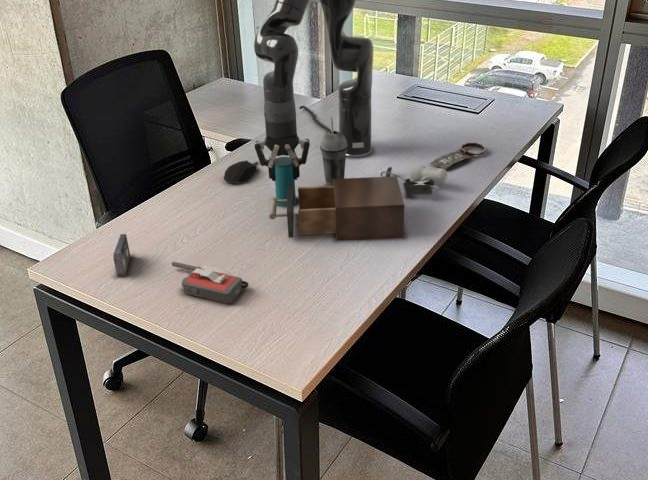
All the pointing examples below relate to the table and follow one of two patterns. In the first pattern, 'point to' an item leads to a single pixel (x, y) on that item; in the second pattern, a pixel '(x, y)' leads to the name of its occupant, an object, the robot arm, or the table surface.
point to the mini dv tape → (121, 255)
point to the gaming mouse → (239, 172)
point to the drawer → (309, 210)
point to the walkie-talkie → (211, 283)
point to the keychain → (458, 156)
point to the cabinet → (368, 208)
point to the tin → (284, 178)
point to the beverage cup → (333, 155)
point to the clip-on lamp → (421, 179)
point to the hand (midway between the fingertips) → (284, 178)
